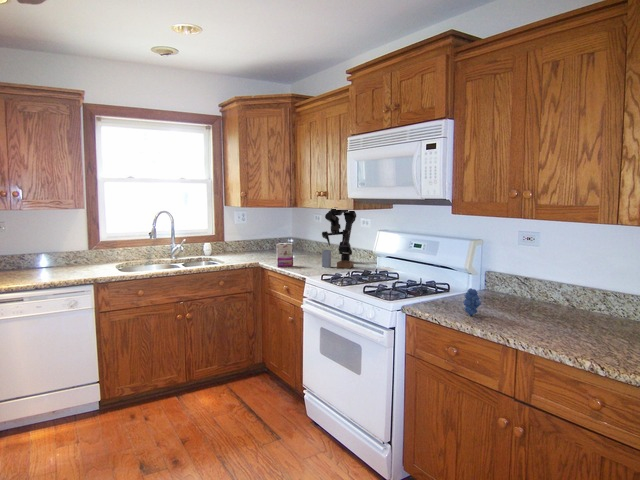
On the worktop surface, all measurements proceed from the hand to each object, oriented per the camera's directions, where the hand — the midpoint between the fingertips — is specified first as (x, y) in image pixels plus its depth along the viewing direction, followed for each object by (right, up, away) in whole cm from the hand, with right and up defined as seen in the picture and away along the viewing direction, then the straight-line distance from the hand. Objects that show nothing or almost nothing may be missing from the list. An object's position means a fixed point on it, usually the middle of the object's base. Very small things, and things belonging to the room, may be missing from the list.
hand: (336, 245), depth 309 cm
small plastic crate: (-7, -16, +4) cm, 17 cm away
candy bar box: (-36, -15, +5) cm, 40 cm away
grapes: (+54, -29, -120) cm, 135 cm away
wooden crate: (+7, -16, +3) cm, 17 cm away
